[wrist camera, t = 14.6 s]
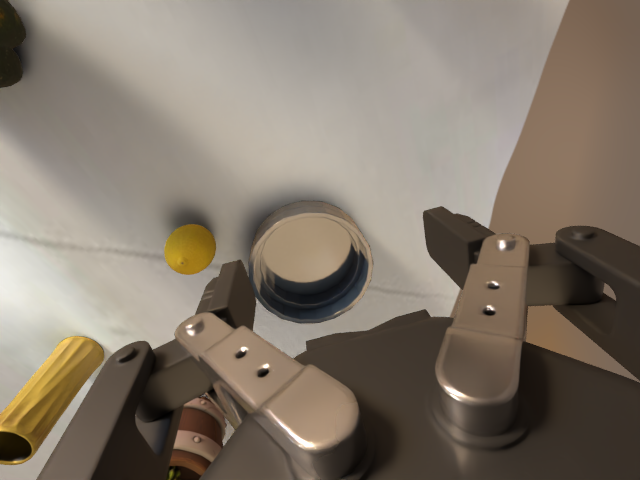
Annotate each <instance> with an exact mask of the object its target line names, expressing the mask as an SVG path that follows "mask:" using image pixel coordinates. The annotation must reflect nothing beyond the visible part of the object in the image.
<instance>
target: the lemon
mask: <svg viewBox="0 0 640 480" xmlns="http://www.w3.org/2000/svg"><path fill="white" fill-rule="evenodd" d="M215 251H216V242H215V239H214V237H213V235H212V234H211V232H210V231H208V230H207V229H206V228H204V227H203V226H200V225H196V224H189V225H184V226H182V227H179V228H177V229H176V230H175V231H174V232H173V233H171V235H170V236H169V238H168V239H167V241H166V245H165V249H164V252H165V259H166V262H167V263H168V265H169V266H170V267H171V268H172V269H173V270H174V271H176V272H178V273H181V274H186V275H190V274H195V273H199V272H200V271H202V270H204V269H205V268H206V267H207V266H208V265H209V264H210V263H211V262H212V260H213V258H214V256H215Z"/></svg>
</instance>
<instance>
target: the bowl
mask: <svg viewBox="0 0 640 480" xmlns="http://www.w3.org/2000/svg"><path fill="white" fill-rule="evenodd" d="M372 269H373V260H372V255H371V250H370V246H369V244H368V243H367V241H366V240H365V238H364V236H363V235H362V233H361V231H360V230H359V228H358V227H357V225H356V224H355V222H354V221H353V219H352V218H351V217H350V216H348V215H347V214H346V213H345V212H343V211H342V210H341V209H340V208H338V207H336V206H333V205H330V204H328V203H325V202H322V201H299V202H295V203H292V204H288V205H285V206H283V207H281V208H280V209H278V210H277V211H275V212H274V213H272V214H270V215H269V216H268V217H267V218H266V220H265V221H264V222H263V223H262V225H261V226H260V227H259V228H258V230H257V232H256V235H255V238H254V240H253V243H252V247H251V252H250V258H249V280H250V283H251V285H252V288H253V291H254V294H255V297H256V298H257V299H258V300H259V301H260V303H261V304H262V305H263V306H264V307H265V308H266V310H268V311H270V312H271V313H273V314H275V315H276V316H278V317H280V318H281V319H284V320H288V321H292V322H295V323H320V322H324V321H327V320H331V319H334V318H336V317H338V316H340V315H341V314H343V313H345V312H347V311H348V310H350V309H351V308H352V307H353V306H354V305H355V304H356V303H357V302H358V301H359V300H360V299H361V298H362V297H363V295H364V293H365V291H366V289H367V287H368V285H369V283H370V281H371V276H372Z"/></svg>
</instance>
